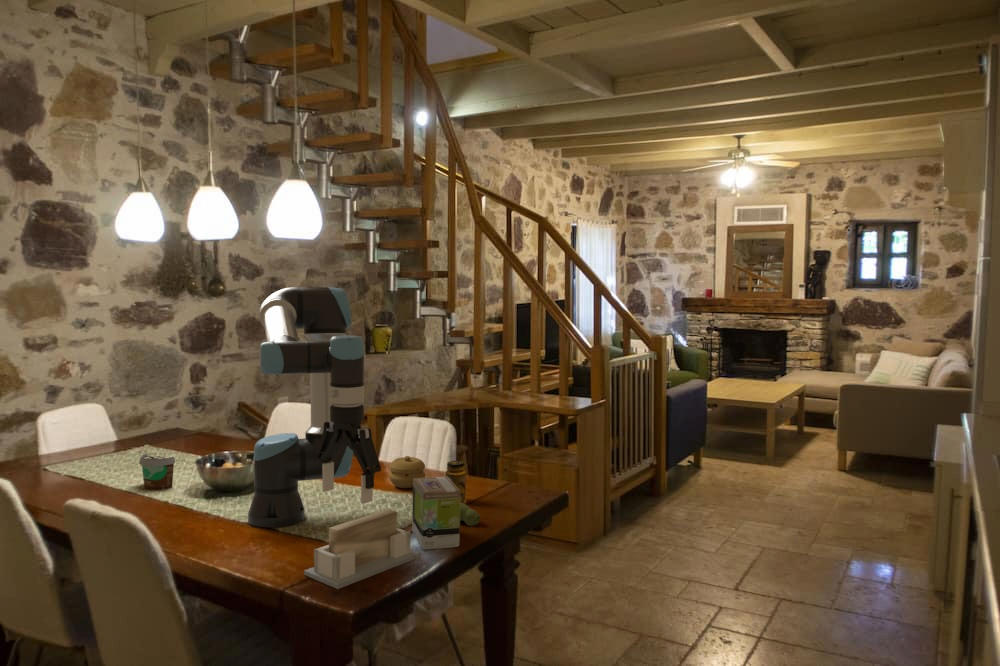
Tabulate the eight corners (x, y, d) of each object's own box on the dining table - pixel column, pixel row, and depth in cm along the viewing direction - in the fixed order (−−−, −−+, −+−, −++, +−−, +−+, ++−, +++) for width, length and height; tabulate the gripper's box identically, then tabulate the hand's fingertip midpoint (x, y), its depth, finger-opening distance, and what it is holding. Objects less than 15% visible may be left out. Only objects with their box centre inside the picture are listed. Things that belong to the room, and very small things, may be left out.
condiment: (470, 502, 226) (471, 463, 225) (446, 506, 221) (446, 467, 220) (458, 496, 232) (459, 458, 231) (434, 500, 227) (434, 461, 226)
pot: (431, 488, 241) (432, 457, 240) (399, 493, 234) (399, 462, 233) (414, 479, 250) (414, 450, 249) (382, 484, 243) (382, 454, 243)
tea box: (461, 547, 188) (461, 489, 187) (421, 551, 185) (421, 492, 184) (448, 528, 202) (448, 474, 201) (411, 531, 199) (411, 476, 198)
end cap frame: (303, 574, 169) (303, 548, 169) (386, 545, 189) (386, 522, 188) (337, 589, 162) (337, 562, 161) (420, 556, 181) (420, 532, 181)
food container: (130, 488, 236) (130, 457, 235) (146, 483, 241) (146, 452, 240) (160, 492, 231) (159, 461, 230) (175, 487, 237) (175, 456, 236)
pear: (456, 497, 212) (485, 509, 207) (453, 514, 213) (482, 526, 208) (444, 502, 207) (474, 514, 202) (441, 520, 208) (471, 532, 203)
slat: (329, 570, 169) (328, 527, 168) (388, 549, 183) (388, 509, 182) (337, 574, 167) (337, 530, 167) (396, 552, 181) (396, 511, 180)
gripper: (299, 399, 173) (300, 488, 175) (371, 413, 158) (371, 511, 159) (325, 395, 179) (325, 482, 181) (397, 409, 164) (396, 503, 165)
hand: (347, 496), depth 170 cm, fingers open, 13 cm apart
